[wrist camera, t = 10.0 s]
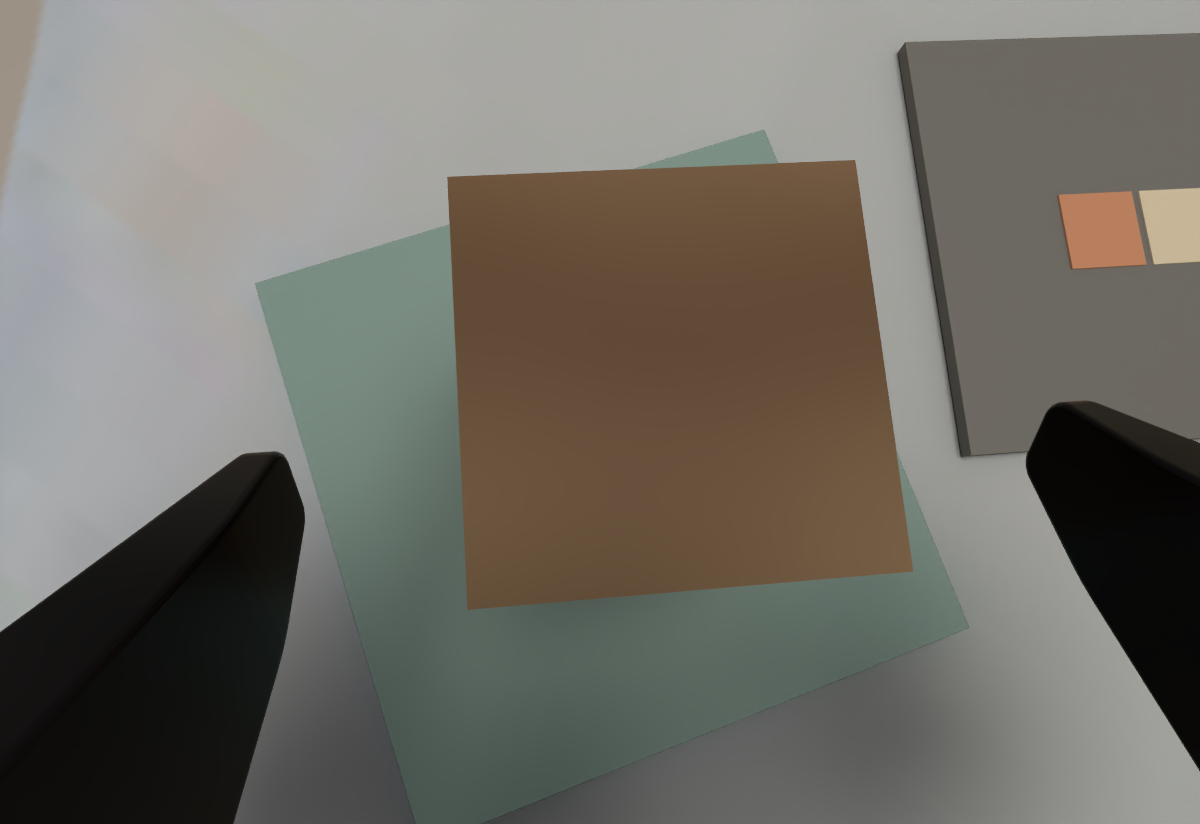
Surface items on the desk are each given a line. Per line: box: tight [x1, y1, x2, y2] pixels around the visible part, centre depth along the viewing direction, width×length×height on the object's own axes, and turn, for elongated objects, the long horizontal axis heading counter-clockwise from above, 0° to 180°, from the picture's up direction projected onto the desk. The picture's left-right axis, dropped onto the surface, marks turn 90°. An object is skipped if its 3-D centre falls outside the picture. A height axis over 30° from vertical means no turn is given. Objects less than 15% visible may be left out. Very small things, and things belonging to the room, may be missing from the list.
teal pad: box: [255, 130, 969, 824], centre depth 16 cm, size 13×13×1 cm
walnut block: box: [447, 160, 913, 610], centre depth 12 cm, size 4×4×9 cm
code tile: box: [898, 33, 1200, 457], centre depth 18 cm, size 11×11×1 cm
